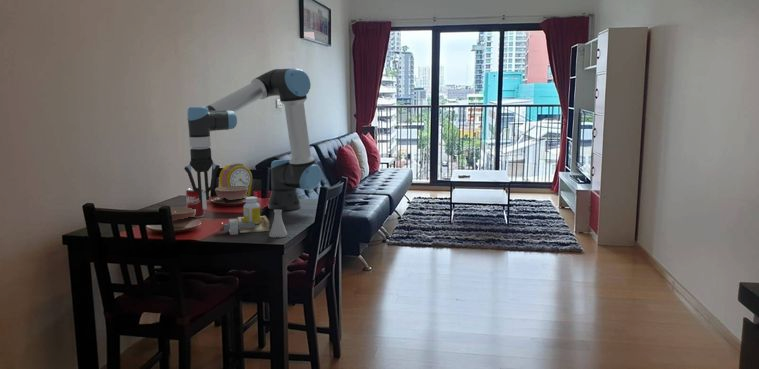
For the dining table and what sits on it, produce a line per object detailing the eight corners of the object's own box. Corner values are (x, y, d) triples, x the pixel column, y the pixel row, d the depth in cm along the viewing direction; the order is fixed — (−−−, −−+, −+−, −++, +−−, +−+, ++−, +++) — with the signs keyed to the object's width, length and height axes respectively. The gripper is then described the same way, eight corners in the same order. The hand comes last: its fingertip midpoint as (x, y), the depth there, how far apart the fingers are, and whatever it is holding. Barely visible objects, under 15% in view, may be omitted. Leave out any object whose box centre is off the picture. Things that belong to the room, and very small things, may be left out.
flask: (269, 233, 217) (269, 208, 216) (288, 233, 218) (288, 208, 216) (267, 238, 210) (267, 212, 208) (287, 238, 211) (286, 212, 209)
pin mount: (237, 230, 221) (236, 218, 221) (238, 234, 216) (237, 222, 215) (229, 231, 220) (228, 219, 220) (230, 234, 215) (229, 222, 214)
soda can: (199, 218, 242) (198, 191, 240) (184, 217, 243) (182, 190, 241) (207, 214, 249) (206, 188, 247) (192, 214, 250) (191, 187, 248)
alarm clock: (228, 201, 280) (227, 165, 277) (219, 199, 285) (218, 163, 282) (253, 197, 290) (252, 162, 288) (244, 195, 296) (243, 161, 293)
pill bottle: (263, 224, 228) (262, 196, 226) (255, 228, 222) (254, 199, 220) (249, 223, 230) (248, 195, 228) (240, 227, 224) (239, 198, 222)
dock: (265, 223, 233) (265, 215, 233) (269, 230, 221) (269, 222, 221) (237, 225, 230) (237, 217, 229) (239, 232, 218) (239, 224, 217)
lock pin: (254, 228, 222) (253, 219, 221) (255, 230, 219) (254, 221, 218) (219, 230, 218) (218, 221, 217) (219, 232, 215) (219, 223, 214)
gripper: (217, 145, 217) (221, 205, 222) (182, 147, 213) (187, 207, 218) (218, 148, 210) (222, 209, 215) (182, 149, 206) (187, 212, 211)
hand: (204, 208), depth 216 cm, fingers closed
